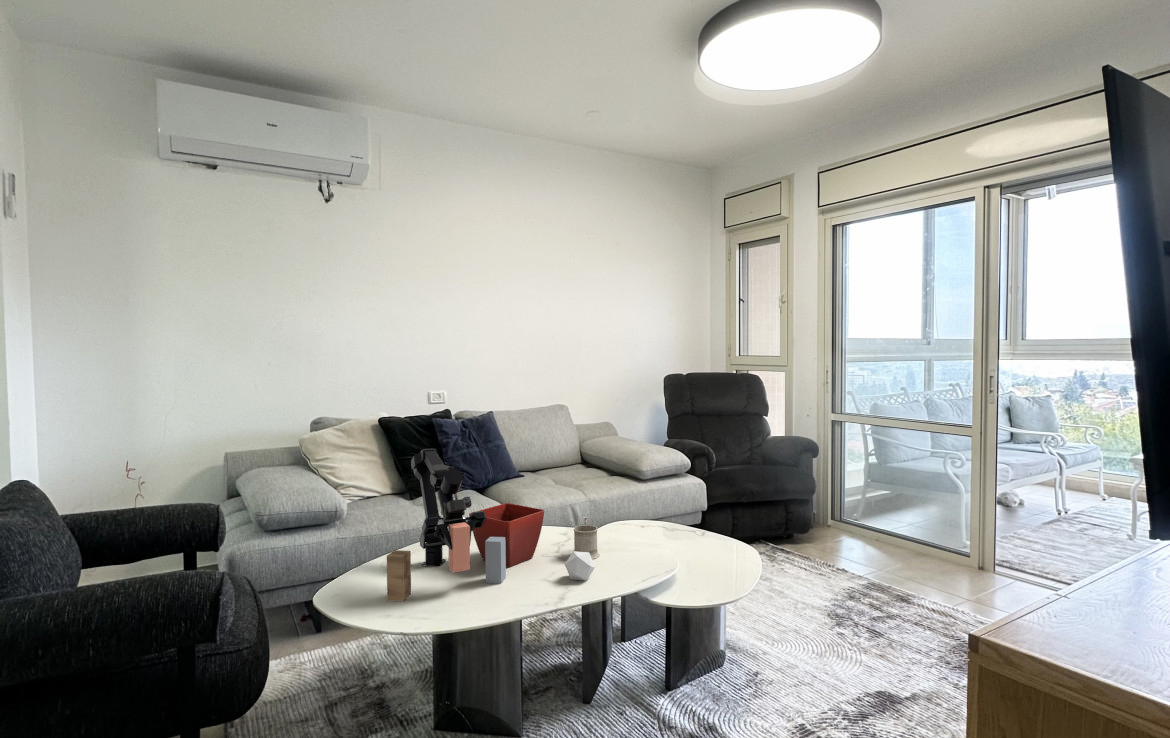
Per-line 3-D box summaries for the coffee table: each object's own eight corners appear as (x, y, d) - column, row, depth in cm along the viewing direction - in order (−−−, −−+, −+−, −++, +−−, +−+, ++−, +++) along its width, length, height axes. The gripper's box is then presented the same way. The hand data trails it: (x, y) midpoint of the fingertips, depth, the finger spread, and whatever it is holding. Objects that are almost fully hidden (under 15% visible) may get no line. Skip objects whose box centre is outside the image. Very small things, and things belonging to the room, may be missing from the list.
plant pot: (508, 573, 196) (507, 521, 196) (468, 562, 208) (467, 513, 208) (546, 557, 212) (545, 509, 211) (507, 548, 223) (506, 502, 223)
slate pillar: (490, 577, 193) (490, 536, 192) (505, 578, 192) (505, 537, 192) (485, 582, 188) (485, 541, 188) (501, 583, 187) (500, 541, 187)
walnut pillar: (395, 593, 179) (394, 550, 179) (411, 594, 179) (410, 550, 179) (387, 600, 175) (386, 555, 174) (403, 601, 174) (402, 556, 174)
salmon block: (448, 567, 182) (448, 524, 182) (464, 564, 184) (464, 522, 184) (453, 572, 178) (453, 528, 177) (469, 569, 180) (469, 526, 180)
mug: (599, 560, 208) (599, 525, 208) (571, 560, 208) (571, 525, 208) (599, 547, 223) (599, 514, 223) (573, 547, 223) (572, 515, 223)
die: (598, 577, 193) (584, 548, 198) (599, 572, 185) (585, 542, 190) (574, 589, 191) (561, 560, 196) (574, 584, 184) (560, 554, 188)
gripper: (423, 491, 180) (434, 537, 170) (483, 485, 189) (496, 528, 179) (417, 512, 187) (427, 558, 177) (475, 505, 196) (487, 547, 186)
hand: (460, 547), depth 180 cm, fingers closed on salmon block, 5 cm apart
